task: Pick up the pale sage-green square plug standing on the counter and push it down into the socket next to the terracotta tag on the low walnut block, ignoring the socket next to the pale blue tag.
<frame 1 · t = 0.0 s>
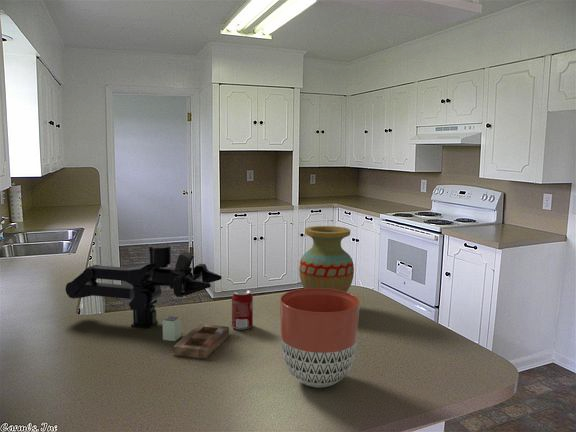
hand: (216, 281, 145), 17 cm above the counter, tool horizontal, fingers open, 9 cm apart
plug: (172, 338, 142), on the counter
socket block: (202, 344, 137), on the counter
soda can: (242, 327, 151), on the counter
planter: (317, 382, 116), on the counter
vase: (325, 310, 169), on the counter
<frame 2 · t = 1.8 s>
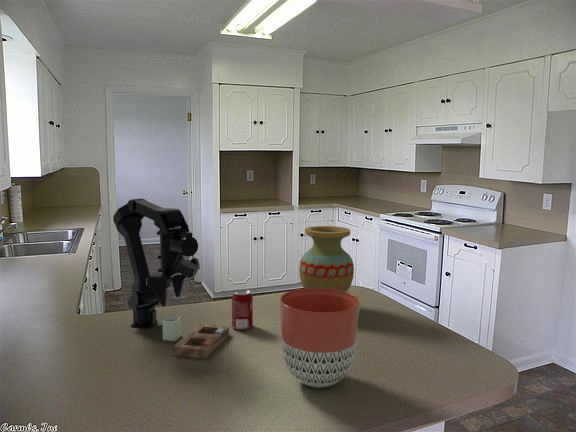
hand: (171, 301, 140), 12 cm above the counter, tool pointing down, fingers open, 9 cm apart
nothing on the counter moved.
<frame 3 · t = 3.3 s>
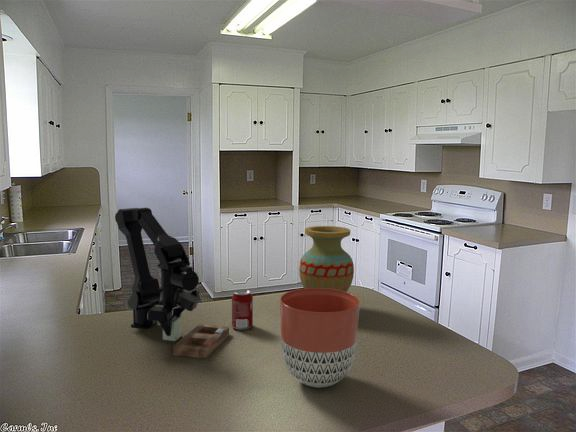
hand: (171, 333, 141), 2 cm above the counter, tool pointing down, fingers closed on plug, 4 cm apart
plug: (172, 337, 142), on the counter, touching gripper
everything else where it was.
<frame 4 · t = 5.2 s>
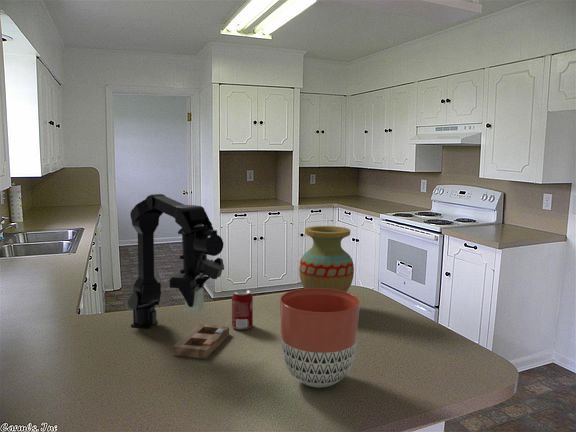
hand: (194, 304, 132), 13 cm above the counter, tool pointing down, fingers closed on plug, 4 cm apart
plug: (194, 309, 132), point 12 cm above the counter, touching gripper
everything else where it was.
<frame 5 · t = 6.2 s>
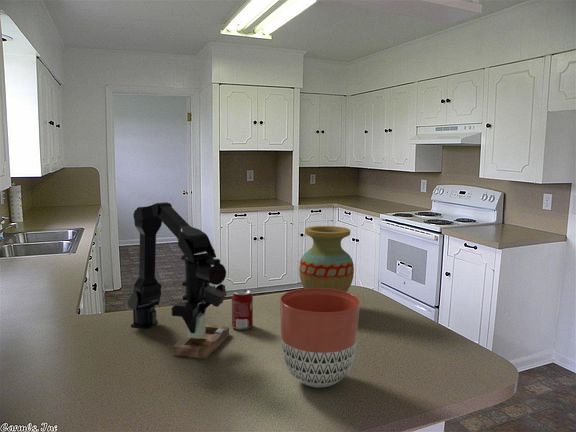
hand: (196, 330, 132), 6 cm above the counter, tool pointing down, fingers closed on plug, 4 cm apart
plug: (196, 335, 132), point 5 cm above the counter, touching gripper
everything else where it was.
when the fingers open (3 cm above the counter, at t = 7.1 s): plug drops 1 cm, resting on socket block.
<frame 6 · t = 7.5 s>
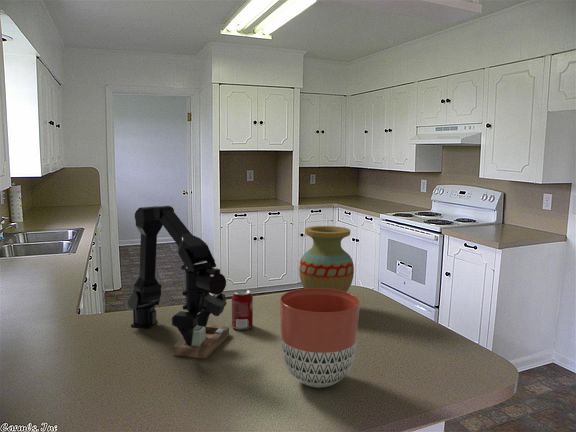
hand: (196, 339, 133), 3 cm above the counter, tool pointing down, fingers open, 9 cm apart
plug: (196, 348, 133), resting on socket block
everything else where it was.
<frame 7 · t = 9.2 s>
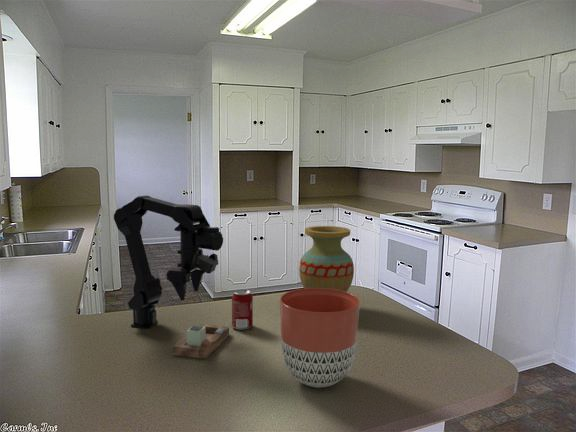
hand: (189, 295, 143), 13 cm above the counter, tool pointing down, fingers open, 9 cm apart
nothing on the counter moved.
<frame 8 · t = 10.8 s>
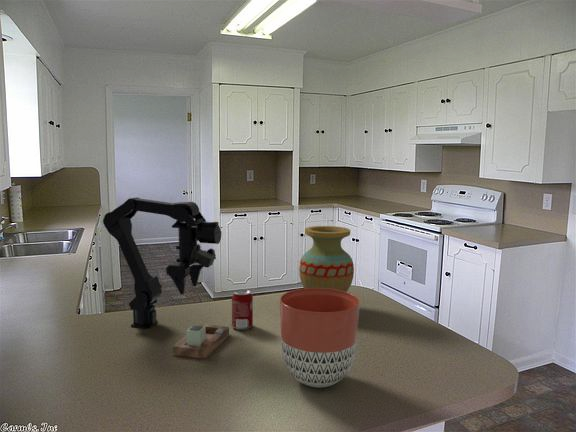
hand: (188, 290, 147), 13 cm above the counter, tool pointing down, fingers open, 9 cm apart
nothing on the counter moved.
at the end: plug 0.0 cm from the target spot on the socket block, point 0.5 cm above the socket block's base; plug tilted 0°; the gripper is holding nothing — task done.
